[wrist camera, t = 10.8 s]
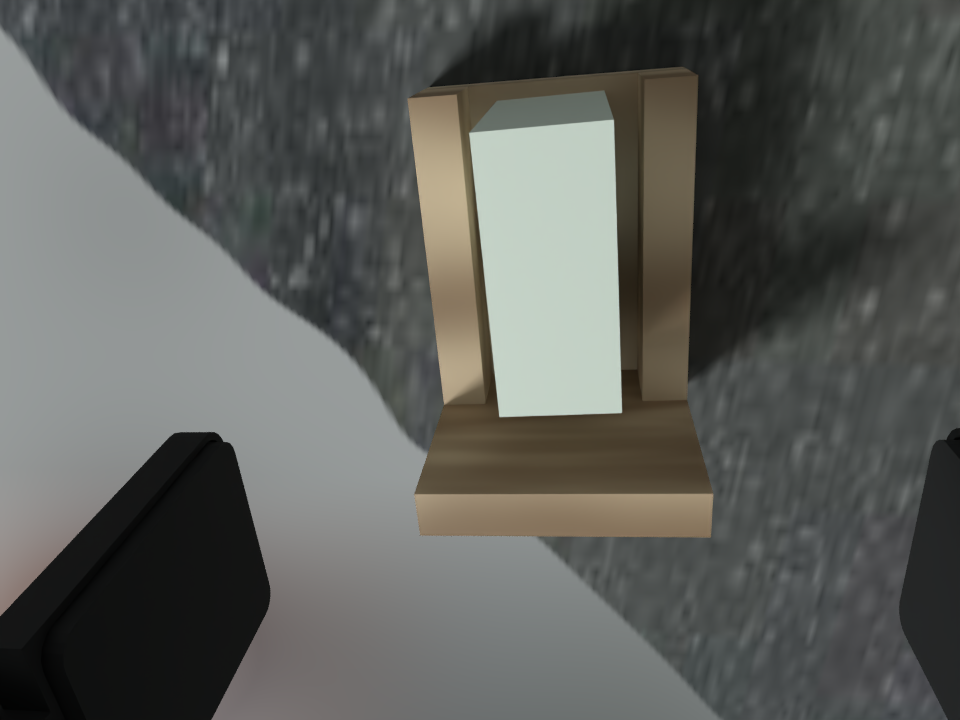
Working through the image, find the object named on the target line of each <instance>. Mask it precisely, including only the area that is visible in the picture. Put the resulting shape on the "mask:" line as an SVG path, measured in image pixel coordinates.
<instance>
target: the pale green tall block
mask: <svg viewBox="0 0 960 720" xmlns="http://www.w3.org/2000/svg"><path fill="white" fill-rule="evenodd" d="M469 136H470V145H471V154H472V164H473V173H474V183H475V192H476V202H477V211H478V220H479V230H480V239H481V249H482V258H483V267H484V277H485V286H486V296H487V305H488V314H489V324H490V333H491V343H492V352H493V362H494V371H495V380H496V390H497V399H498V409H499V417H518V416H549V415H579V414H610V413H622V394H621V357H620V321H619V285H618V249H617V213H616V177H615V141H614V118H613V115H612V112H611V109H610V106H609V103H608V100H607V97H606V94H605V91H604V90H603V91H593V92H583V93H573V94H562V95H552V96H542V97H531V98H521V99H511V100H501V101H496V102H495V104H494V105H493V106H492V107H491V108H490V109H489V111H488V112H487V113H486V114H485V115H484V116H483V117H482V119H481V120H480V121H479V122H478V123H477V124H476V126H475V127H474V128H473V129H472V130H471V131H470V132H469Z"/></svg>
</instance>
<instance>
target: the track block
mask: <svg viewBox="0 0 960 720" xmlns="http://www.w3.org/2000/svg"><path fill="white" fill-rule="evenodd" d="M603 90H604V91H605V94H606V97H607V100H608V103H609V106H610V109H611V112H612V115H613V118H614V141H615V177H616V213H617V249H618V285H619V321H620V357H621V394H622V413H610V414H579V415H549V416H518V417H499V409H498V399H497V390H496V380H495V371H494V362H493V352H492V343H491V333H490V324H489V314H488V305H487V296H486V286H485V277H484V267H483V258H482V249H481V239H480V230H479V220H478V211H477V202H476V192H475V183H474V173H473V164H472V154H471V145H470V136H469V132H470V131H471V130H472V129H473V128H474V127H475V126H476V124H477V123H478V122H479V121H480V120H481V119H482V117H483V116H484V115H485V114H486V113H487V112H488V111H489V109H490V108H491V107H492V106H493V105H494V104H495V102H496V101H501V100H511V99H521V98H531V97H542V96H552V95H562V94H573V93H583V92H593V91H603ZM697 98H698V75H697V74H695V73H693V72H691V71H690V70H688V69H686V68H684V67H672V68H660V69H648V70H635V71H623V72H611V73H599V74H586V75H574V76H562V77H550V78H537V79H525V80H513V81H501V82H488V83H476V84H464V85H452V86H439V87H428V88H426V89H425V90H423V91H421V92H419V93H417V94H415V95H413V96H411V97H409V98H408V106H409V114H410V123H411V131H412V139H413V148H414V156H415V164H416V173H417V181H418V189H419V198H420V206H421V214H422V223H423V231H424V239H425V248H426V256H427V264H428V273H429V281H430V289H431V298H432V306H433V314H434V323H435V331H436V340H437V348H438V356H439V365H440V373H441V381H442V390H443V398H444V407H443V410H442V413H441V416H440V419H439V422H438V425H437V428H436V431H435V434H434V437H433V440H432V443H431V446H430V449H429V452H428V455H427V458H426V461H425V464H424V467H423V470H422V473H421V476H420V479H419V482H418V485H417V488H416V491H415V494H414V496H415V502H416V509H417V516H418V523H419V530H420V535H429V536H430V535H431V536H433V535H434V536H585V537H711V524H712V506H713V491H712V488H711V484H710V481H709V477H708V474H707V470H706V466H705V463H704V459H703V456H702V452H701V449H700V445H699V441H698V438H697V434H696V431H695V427H694V424H693V420H692V416H691V413H690V409H689V406H688V402H687V384H688V355H689V326H690V298H691V269H692V241H693V212H694V184H695V155H696V127H697Z"/></svg>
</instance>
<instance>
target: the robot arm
mask: <svg viewBox="0 0 960 720" xmlns="http://www.w3.org/2000/svg"><path fill="white" fill-rule="evenodd" d="M269 602H270V585H269V581H268V577H267V573H266V569H265V565H264V562H263V558H262V554H261V550H260V547H259V542H258V539H257V535H256V531H255V527H254V523H253V520H252V516H251V512H250V508H249V504H248V501H247V496H246V493H245V489H244V485H243V481H242V477H241V474H240V470H239V466H238V462H237V458H236V455H235V451H234V449H233V447H232V445H231V444H230V443H228V442H223V440H222V438H221V437H220V436H219V435H218V434H217V433H215V432H180V433H174V434H173V435H172V436H171V437H169V438H168V439H167V440H166V441H165V442H164V444H163V445H162V446H161V447H160V448H159V449H158V450H157V451H156V452H155V453H154V454H153V455H152V456H151V457H150V458H149V459H148V460H147V462H146V463H145V464H144V465H143V466H142V467H141V468H140V469H139V470H138V471H137V472H136V473H135V474H134V475H133V476H132V478H131V479H130V480H129V481H128V482H127V483H126V484H125V485H124V486H123V487H122V488H121V489H120V490H119V491H118V492H117V493H116V494H115V495H114V497H113V498H112V499H111V500H110V501H109V502H108V503H107V504H106V505H105V506H104V507H103V508H102V509H101V510H100V511H99V512H98V513H97V515H96V516H95V517H94V518H93V519H92V520H91V521H90V522H89V523H88V524H87V525H86V526H85V527H84V528H83V530H81V531H80V533H79V534H78V535H77V536H76V537H75V538H74V539H73V540H72V541H71V542H70V543H69V544H68V545H67V546H66V547H65V549H63V551H62V552H61V553H60V554H59V555H58V556H57V557H56V558H55V559H54V560H53V561H52V562H51V563H50V564H49V565H48V566H47V568H46V569H45V570H44V571H43V572H42V573H41V574H40V575H39V576H38V577H37V578H36V579H35V580H34V581H33V582H32V583H31V584H30V586H29V587H28V588H27V589H26V590H25V591H24V592H23V593H22V594H21V595H20V596H19V597H18V598H17V599H16V600H15V601H14V603H13V604H12V605H11V606H10V607H9V608H8V609H7V610H6V611H5V612H4V613H3V614H2V615H1V616H0V720H211V719H212V717H213V715H214V713H215V712H216V710H217V708H218V706H219V704H220V702H221V700H222V698H223V696H224V694H225V692H226V690H227V688H228V686H229V684H230V682H231V681H232V679H233V677H234V675H235V673H236V671H237V669H238V667H239V665H240V663H241V661H242V659H243V657H244V655H245V653H246V651H247V650H248V647H249V646H250V644H251V642H252V640H253V638H254V636H255V634H256V632H257V630H258V628H259V626H260V624H261V622H262V620H263V618H264V617H265V615H266V612H267V610H268V607H269ZM899 614H900V621H901V625H902V629H903V631H904V634H905V636H906V638H907V640H908V642H909V644H910V646H911V648H912V650H913V652H914V654H915V656H916V657H917V659H918V661H919V663H920V665H921V667H922V669H923V671H924V673H925V675H926V677H927V679H928V681H929V683H930V685H931V687H932V689H933V691H934V693H935V695H936V697H937V699H938V701H939V703H940V705H941V707H942V709H943V711H944V713H945V715H946V717H947V719H948V720H960V428H956V429H954V430H952V431H951V433H950V434H949V435H948V437H947V440H938V441H936V443H935V444H934V445H933V448H932V451H931V456H930V461H929V465H928V470H927V475H926V480H925V484H924V489H923V494H922V499H921V503H920V508H919V513H918V518H917V522H916V527H915V532H914V537H913V541H912V546H911V551H910V556H909V560H908V565H907V570H906V575H905V579H904V584H903V589H902V594H901V598H900V605H899Z"/></svg>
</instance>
